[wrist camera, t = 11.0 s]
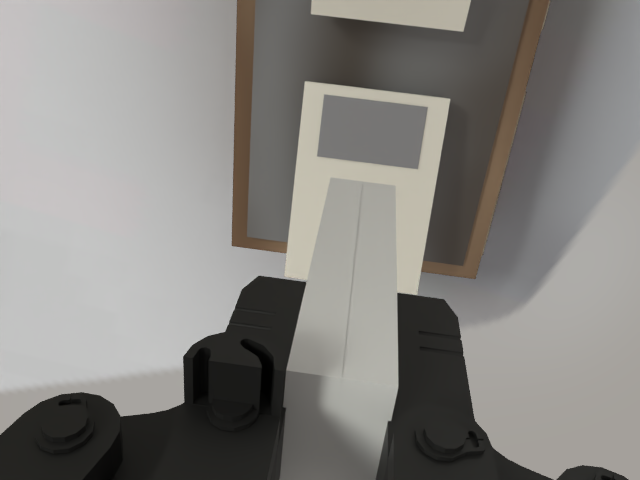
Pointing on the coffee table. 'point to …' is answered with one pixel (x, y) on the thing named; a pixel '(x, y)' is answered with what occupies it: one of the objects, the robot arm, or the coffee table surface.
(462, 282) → the coffee table surface
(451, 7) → the block
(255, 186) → the wooden storage box
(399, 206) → the rocker
